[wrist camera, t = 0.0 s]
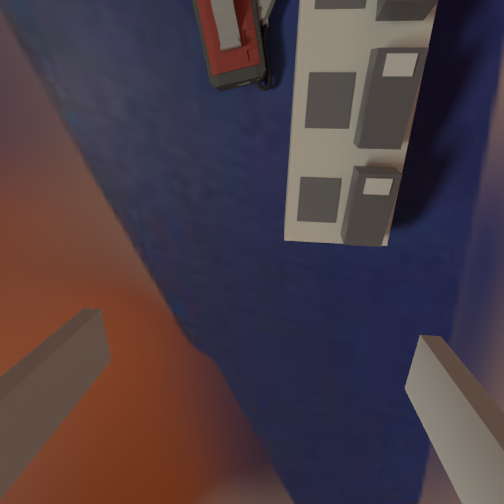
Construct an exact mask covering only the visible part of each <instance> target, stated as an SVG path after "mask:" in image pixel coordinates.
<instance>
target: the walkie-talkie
mask: <svg viewBox="0 0 504 504" xmlns="http://www.w3.org/2000/svg"><path fill="white" fill-rule="evenodd" d="M274 3H275V0H192V5H193V10H194V12H195V16H196V20H197V22H198V23H197V26H198V27H199V33H200V38H201V44H202V45H203V48H202V49H203V51H204V56H205V62H206V67H207V69H208V70H207V73H208V74H209V76H208V78H209V79H210V83H211V84H212V85H213V86H214V87H216V88H217V89H218V90H219V91H224V90H228V89H232V88H237V87H241V86H245V85H249V84H253V83H257V85H258V87H259V89H261V90H264V91H267V90H268V89H269V88H270V86H271V81H272V80H271V73H270V66H269V59H268V52H267V44H266V35H267V27H269V23H268V18H269V16H270V13H271V11H272V8H273V6H274ZM260 26H263V28H264V30H263V34H261V28H260ZM266 69H267V70H266ZM266 75H268V84H267V86H262V85H261V83H260V82H261V81H263V80H264V78H265V77H266Z"/></svg>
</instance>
